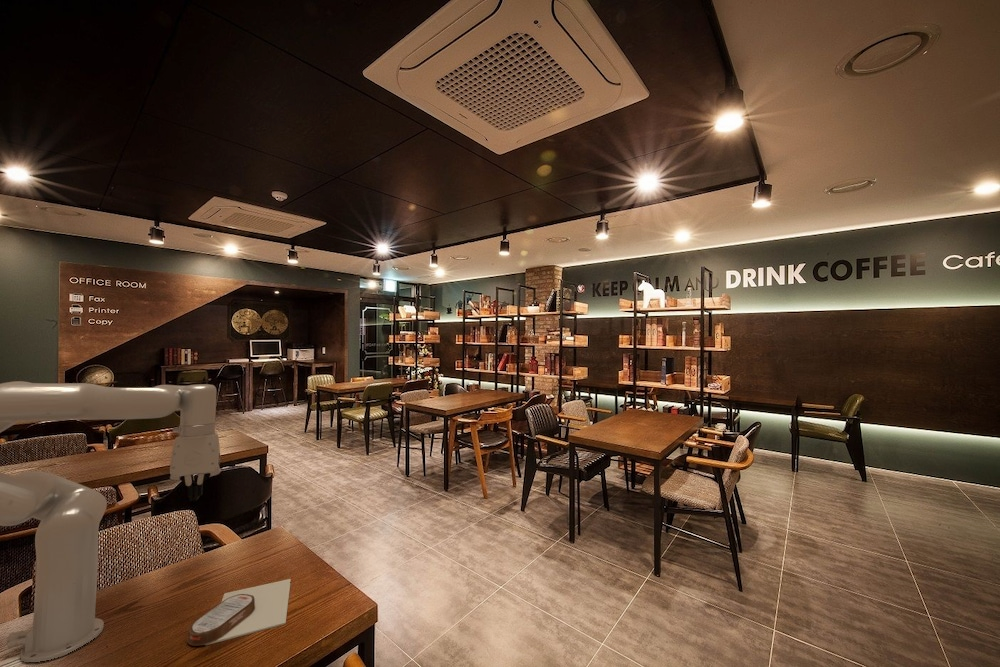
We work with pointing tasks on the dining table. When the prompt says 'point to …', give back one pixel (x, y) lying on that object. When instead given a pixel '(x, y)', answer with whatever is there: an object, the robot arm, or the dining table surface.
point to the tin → (220, 619)
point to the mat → (262, 609)
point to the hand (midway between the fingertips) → (194, 498)
